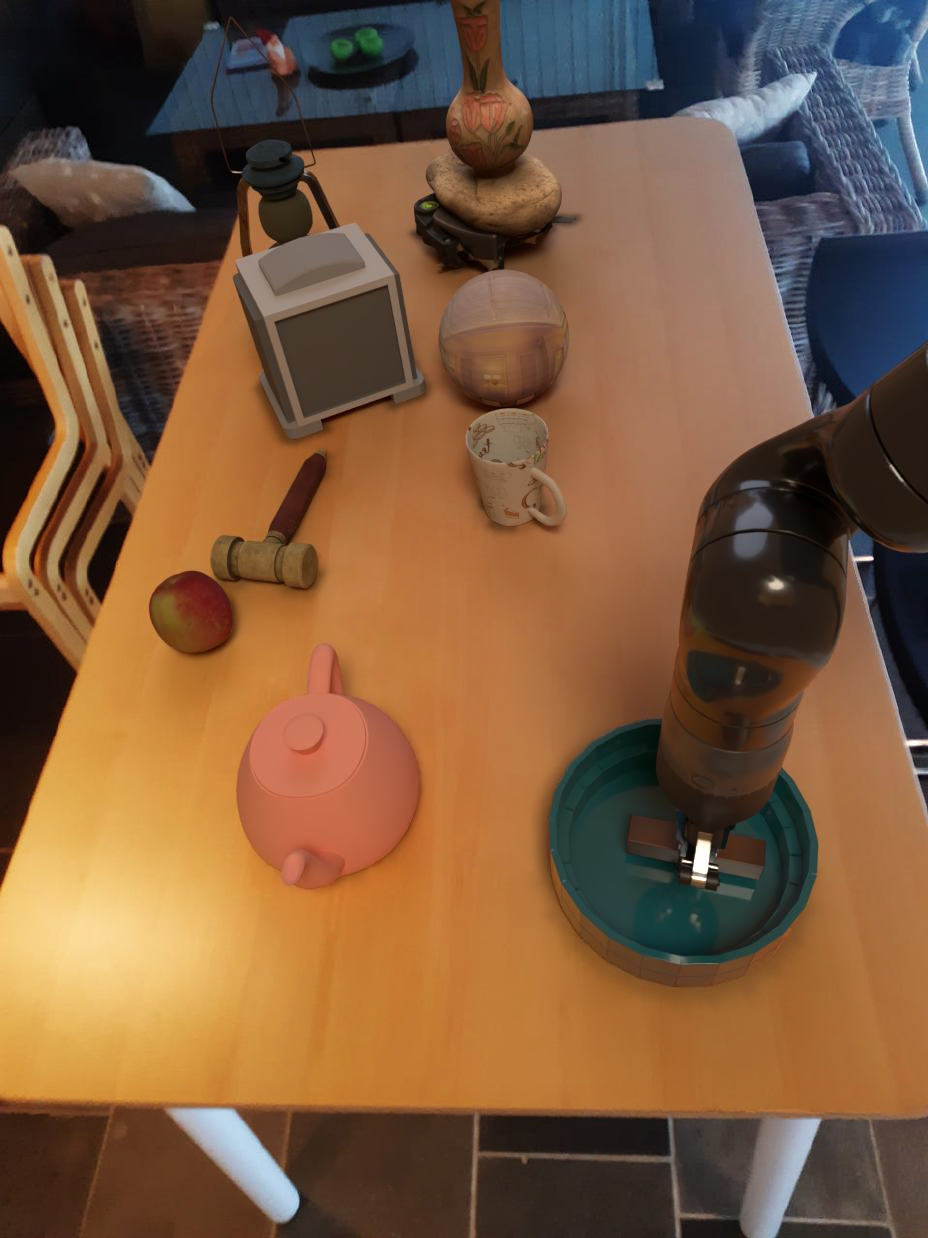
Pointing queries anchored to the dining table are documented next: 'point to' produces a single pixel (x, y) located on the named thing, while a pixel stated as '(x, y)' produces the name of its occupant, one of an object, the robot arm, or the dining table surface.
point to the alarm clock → (327, 327)
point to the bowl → (670, 871)
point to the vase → (486, 157)
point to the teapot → (326, 782)
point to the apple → (191, 612)
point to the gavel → (275, 539)
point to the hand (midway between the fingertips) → (694, 851)
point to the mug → (512, 466)
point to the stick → (661, 843)
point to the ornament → (503, 338)
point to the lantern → (277, 186)
